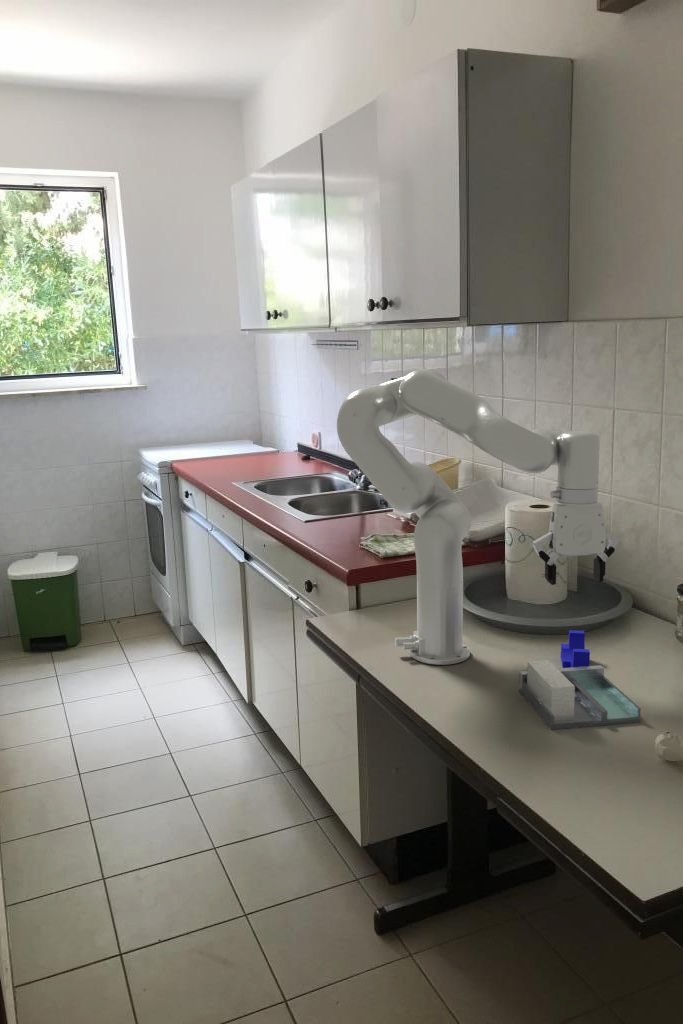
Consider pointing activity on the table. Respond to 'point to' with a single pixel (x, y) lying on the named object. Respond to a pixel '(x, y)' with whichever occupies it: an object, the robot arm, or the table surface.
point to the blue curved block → (575, 651)
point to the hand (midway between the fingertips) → (574, 581)
